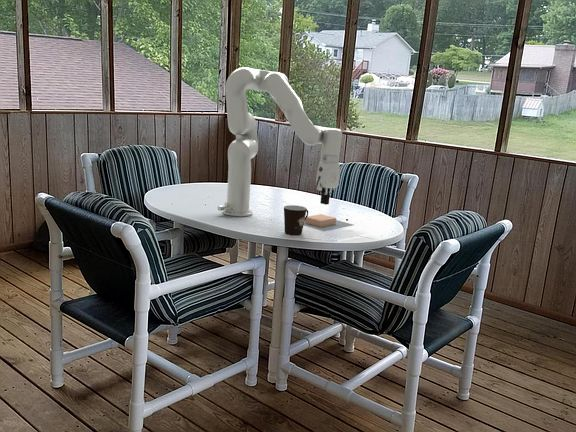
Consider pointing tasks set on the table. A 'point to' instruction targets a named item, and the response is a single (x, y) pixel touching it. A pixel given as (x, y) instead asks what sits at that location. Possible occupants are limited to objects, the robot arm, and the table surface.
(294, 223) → the coffee mug
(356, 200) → the table surface
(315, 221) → the wooden picture frame
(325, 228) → the mat
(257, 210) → the table surface
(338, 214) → the table surface
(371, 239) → the table surface
